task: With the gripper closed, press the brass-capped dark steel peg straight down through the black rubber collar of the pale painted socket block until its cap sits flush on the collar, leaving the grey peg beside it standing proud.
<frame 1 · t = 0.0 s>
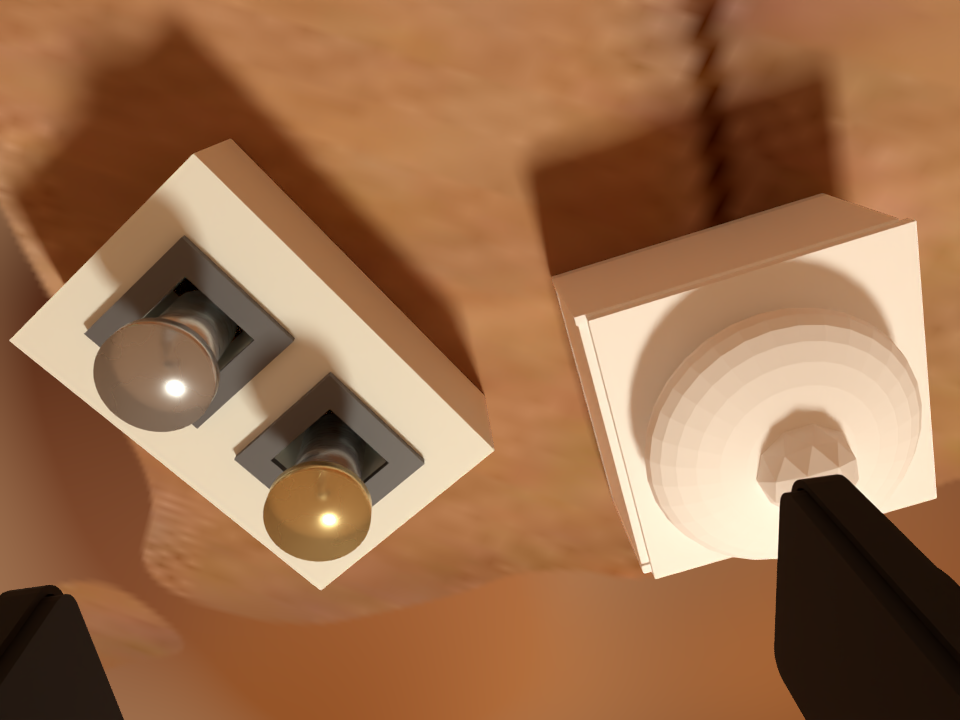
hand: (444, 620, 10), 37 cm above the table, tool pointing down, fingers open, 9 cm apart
brass-capped peg: (327, 475, 40), point 10 cm above the table, slide at 0.0 cm
grey peg: (181, 348, 37), point 10 cm above the table, slide at 0.0 cm
socket block: (287, 348, 48), on the table
butter dish: (711, 356, 50), on the table
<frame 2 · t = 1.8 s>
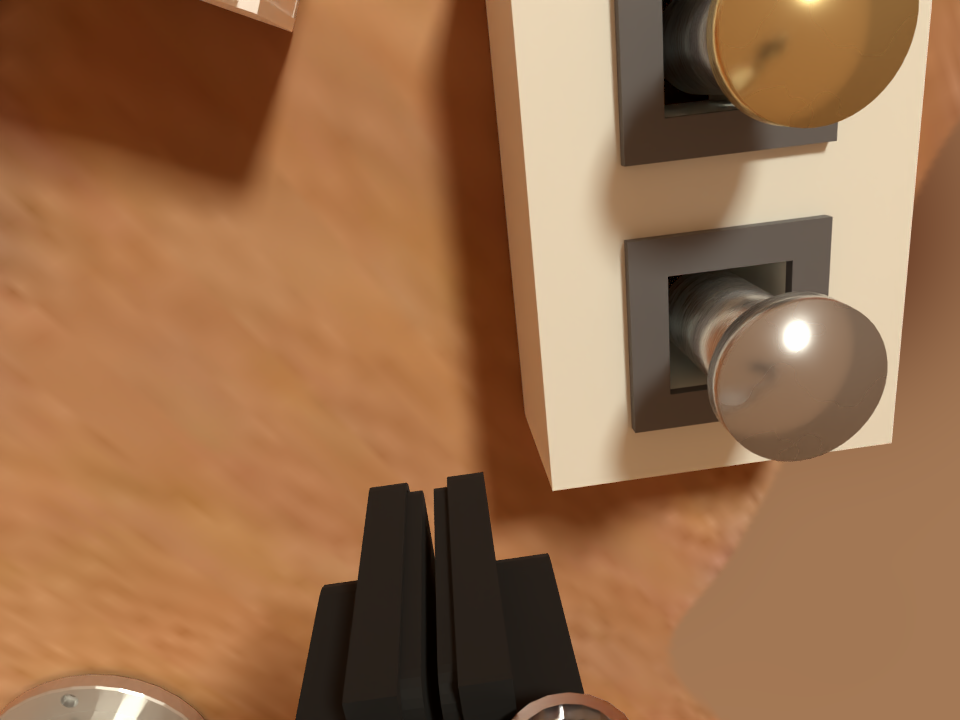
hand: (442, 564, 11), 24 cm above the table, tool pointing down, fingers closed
brass-capped peg: (752, 32, 23), point 9 cm above the table, slide at 0.0 cm
grey peg: (747, 342, 26), point 10 cm above the table, slide at 0.0 cm
socket block: (658, 169, 33), on the table
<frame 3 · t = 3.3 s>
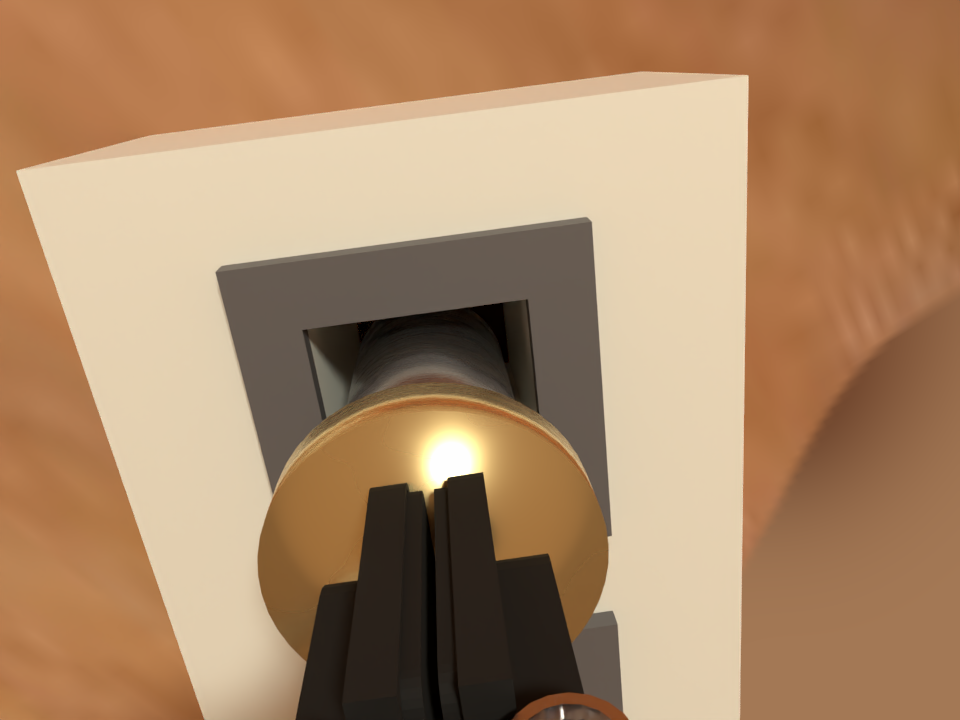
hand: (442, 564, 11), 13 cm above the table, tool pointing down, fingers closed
brass-capped peg: (432, 443, 15), point 9 cm above the table, slide at 0.3 cm, touching gripper
socket block: (449, 445, 25), on the table
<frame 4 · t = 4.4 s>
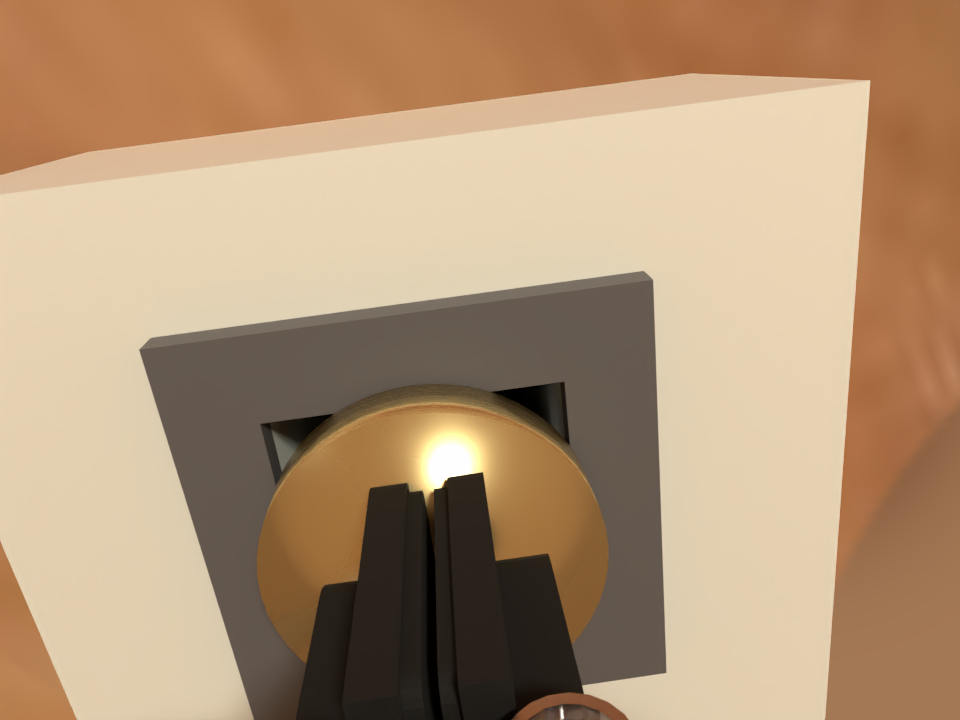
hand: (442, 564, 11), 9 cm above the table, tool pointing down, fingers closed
brass-capped peg: (432, 444, 15), point 5 cm above the table, slide at 4.5 cm, touching gripper
socket block: (455, 515, 21), on the table
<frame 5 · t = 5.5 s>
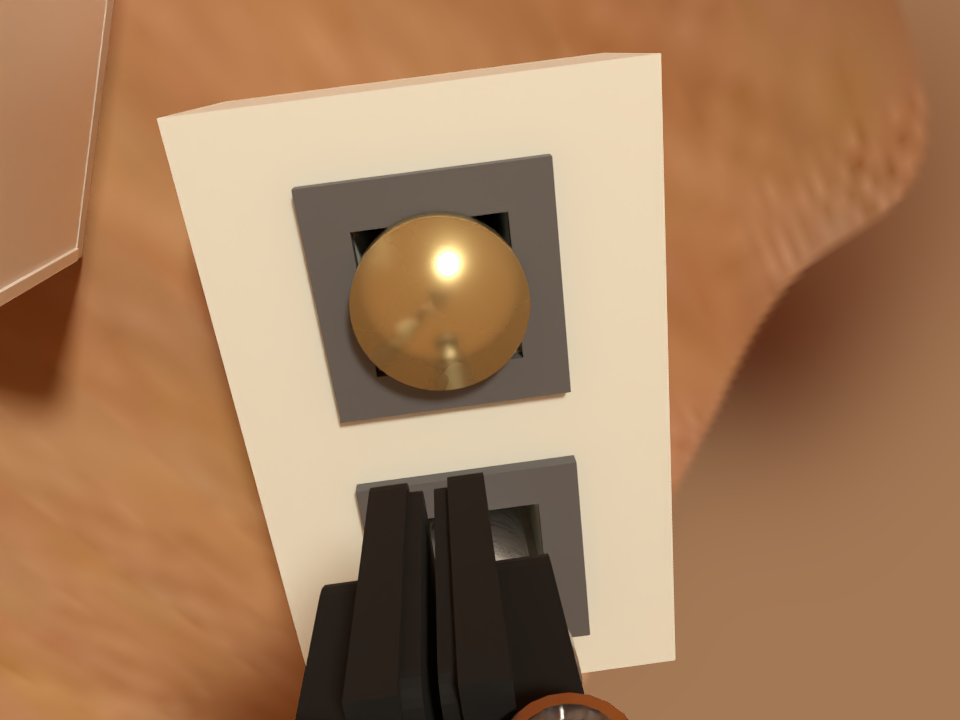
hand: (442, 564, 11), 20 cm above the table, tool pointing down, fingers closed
brass-capped peg: (439, 270, 25), point 5 cm above the table, slide at 4.5 cm
grey peg: (482, 596, 25), point 10 cm above the table, slide at 0.0 cm
socket block: (453, 352, 32), on the table
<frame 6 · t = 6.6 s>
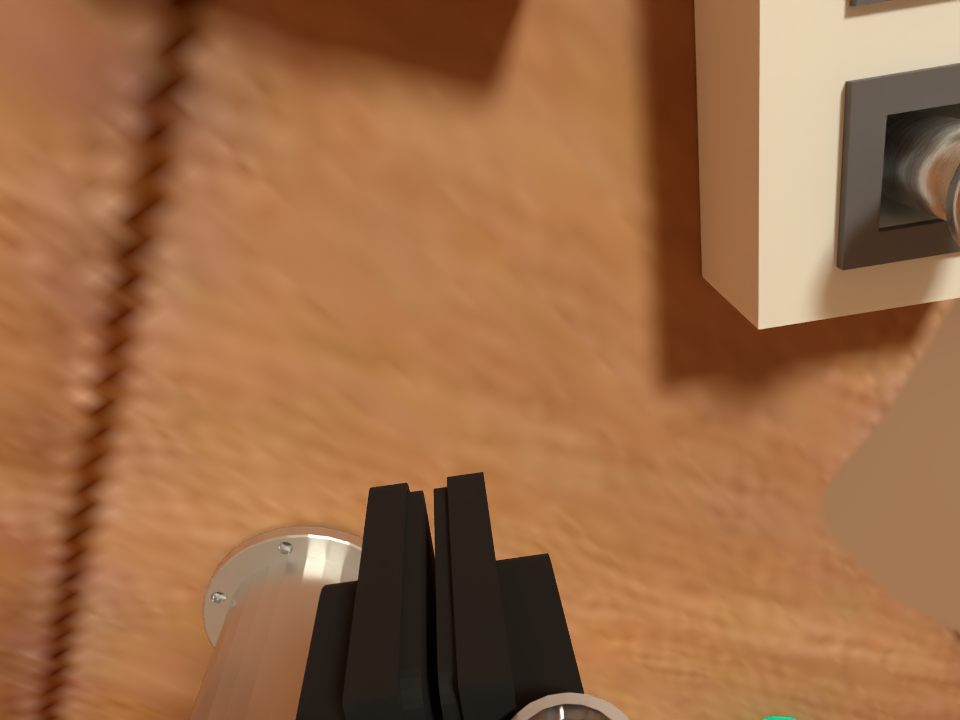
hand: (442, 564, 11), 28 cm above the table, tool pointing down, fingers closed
socket block: (845, 27, 35), on the table
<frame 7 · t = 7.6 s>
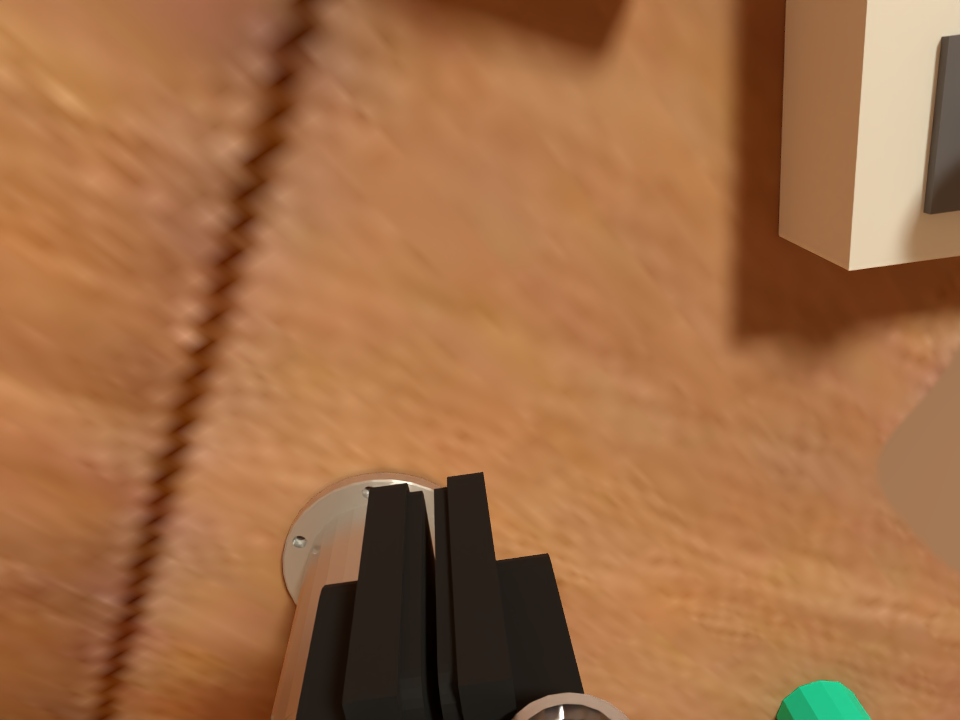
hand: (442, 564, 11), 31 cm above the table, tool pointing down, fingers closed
candle: (814, 709, 56), on the table
socket block: (921, 3, 38), on the table
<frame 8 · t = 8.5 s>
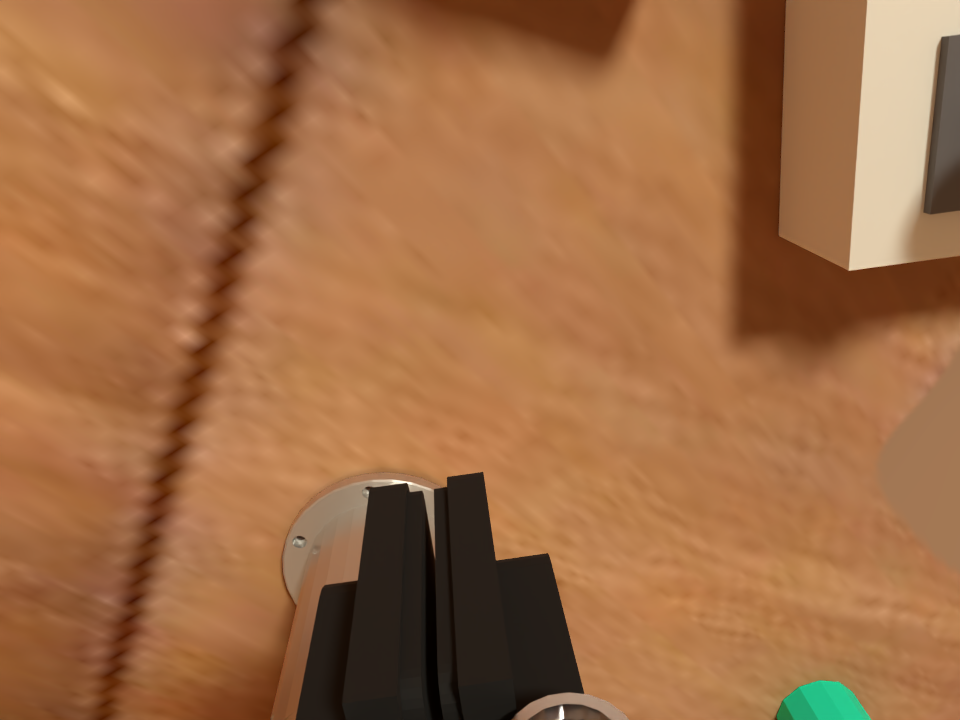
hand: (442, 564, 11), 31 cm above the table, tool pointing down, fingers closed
candle: (814, 709, 56), on the table
socket block: (921, 3, 38), on the table
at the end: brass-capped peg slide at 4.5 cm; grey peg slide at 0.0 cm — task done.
